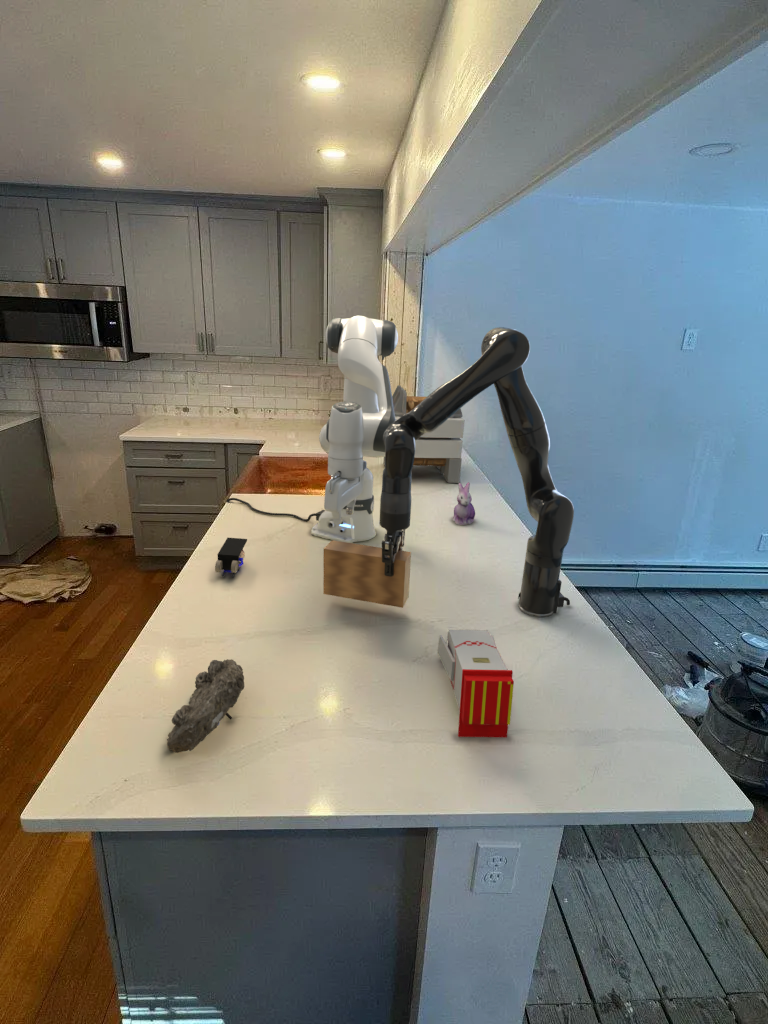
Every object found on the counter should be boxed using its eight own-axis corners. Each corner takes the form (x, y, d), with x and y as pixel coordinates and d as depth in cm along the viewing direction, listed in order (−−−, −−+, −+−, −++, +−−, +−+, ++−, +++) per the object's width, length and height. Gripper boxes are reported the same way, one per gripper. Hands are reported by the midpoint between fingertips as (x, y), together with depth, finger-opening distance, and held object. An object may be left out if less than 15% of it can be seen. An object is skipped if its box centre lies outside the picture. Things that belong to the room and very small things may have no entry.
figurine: (461, 527, 208) (464, 488, 203) (445, 518, 216) (448, 480, 211) (481, 524, 212) (485, 485, 207) (466, 515, 221) (469, 478, 216)
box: (323, 594, 148) (323, 548, 143) (331, 584, 153) (331, 540, 149) (403, 608, 142) (405, 561, 138) (408, 597, 148) (411, 551, 143)
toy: (488, 613, 130) (523, 677, 101) (484, 667, 133) (517, 744, 104) (435, 612, 130) (455, 676, 101) (432, 666, 133) (451, 743, 103)
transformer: (382, 463, 289) (386, 382, 275) (445, 464, 293) (451, 384, 279) (390, 482, 257) (394, 392, 243) (460, 483, 261) (468, 394, 247)
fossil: (192, 660, 117) (244, 628, 112) (224, 691, 120) (276, 661, 115) (142, 746, 98) (202, 712, 93) (182, 779, 101) (242, 748, 96)
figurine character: (238, 584, 162) (249, 557, 175) (236, 562, 158) (247, 536, 172) (215, 584, 161) (227, 556, 175) (212, 561, 158) (225, 535, 171)
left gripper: (343, 478, 134) (341, 533, 138) (368, 461, 153) (366, 510, 157) (318, 475, 135) (317, 529, 139) (346, 458, 154) (345, 507, 158)
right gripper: (403, 519, 130) (399, 585, 136) (417, 500, 143) (413, 561, 149) (372, 515, 132) (369, 580, 138) (388, 497, 145) (385, 557, 151)
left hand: (343, 519), depth 148 cm, fingers open, 8 cm apart
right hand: (392, 570), depth 143 cm, fingers closed on box, 6 cm apart
